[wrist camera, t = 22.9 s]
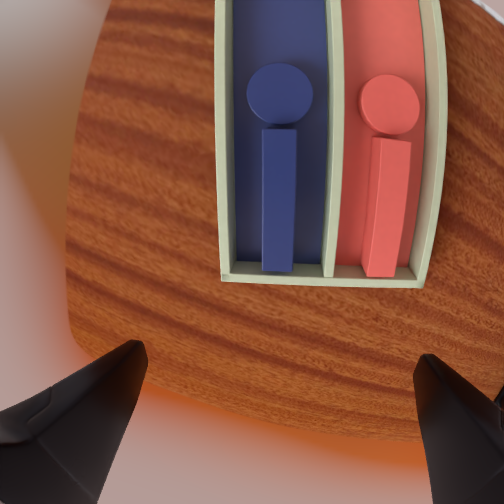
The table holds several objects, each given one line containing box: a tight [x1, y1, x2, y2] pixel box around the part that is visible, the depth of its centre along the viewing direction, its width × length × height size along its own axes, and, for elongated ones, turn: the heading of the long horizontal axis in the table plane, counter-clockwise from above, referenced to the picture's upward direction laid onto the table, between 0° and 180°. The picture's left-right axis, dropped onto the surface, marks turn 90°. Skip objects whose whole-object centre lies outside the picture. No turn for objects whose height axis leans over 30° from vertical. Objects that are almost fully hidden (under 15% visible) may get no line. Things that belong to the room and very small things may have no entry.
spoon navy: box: [246, 62, 314, 272], centre depth 16 cm, size 12×4×2 cm, turn 0°
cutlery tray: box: [214, 0, 448, 288], centre depth 15 cm, size 20×13×2 cm, turn 0°
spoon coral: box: [357, 74, 420, 277], centre depth 16 cm, size 12×4×2 cm, turn 0°
